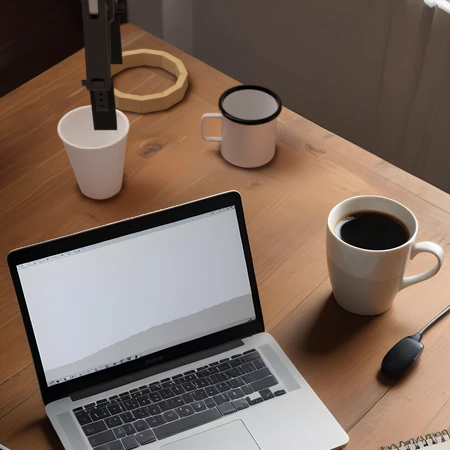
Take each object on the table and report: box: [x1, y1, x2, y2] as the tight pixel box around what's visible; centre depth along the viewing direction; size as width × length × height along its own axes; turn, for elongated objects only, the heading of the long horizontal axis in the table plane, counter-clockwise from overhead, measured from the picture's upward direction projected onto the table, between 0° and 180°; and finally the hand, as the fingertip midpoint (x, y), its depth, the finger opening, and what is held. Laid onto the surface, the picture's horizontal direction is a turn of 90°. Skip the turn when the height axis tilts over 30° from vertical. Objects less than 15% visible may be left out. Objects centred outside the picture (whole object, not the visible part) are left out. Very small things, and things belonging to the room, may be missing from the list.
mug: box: [200, 83, 283, 168], centre depth 126 cm, size 12×10×9 cm
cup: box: [57, 104, 131, 200], centre depth 119 cm, size 10×10×11 cm
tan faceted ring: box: [111, 48, 189, 114], centre depth 139 cm, size 14×14×2 cm
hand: (109, 94), depth 103 cm, fingers open, 13 cm apart
